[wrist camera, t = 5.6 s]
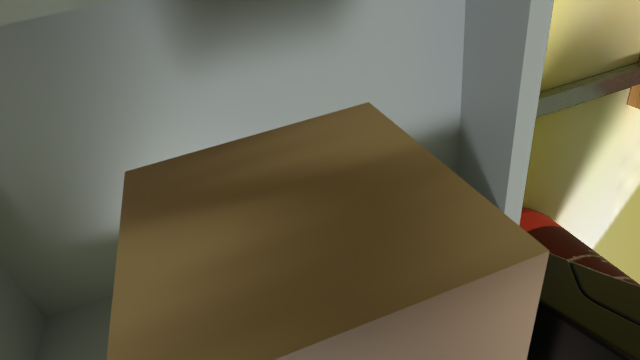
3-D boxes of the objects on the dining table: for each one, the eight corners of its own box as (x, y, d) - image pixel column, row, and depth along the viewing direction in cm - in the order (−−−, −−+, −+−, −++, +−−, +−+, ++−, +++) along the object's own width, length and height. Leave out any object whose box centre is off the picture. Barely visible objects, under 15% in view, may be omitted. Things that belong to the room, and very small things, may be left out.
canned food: (444, 314, 30) (571, 485, 21) (444, 228, 25) (606, 398, 16) (537, 275, 31) (693, 419, 22) (553, 187, 26) (757, 323, 18)
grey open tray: (46, 292, 18) (12, 417, 13) (-173, -3, 11) (-385, 48, 7) (441, 163, 21) (518, 228, 17) (447, -117, 15) (574, -133, 10)
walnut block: (203, 336, 11) (236, 587, 7) (124, 171, 8) (100, 429, 4) (383, 269, 12) (506, 452, 8) (368, 101, 9) (549, 251, 5)
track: (16, 303, 18) (-9, 376, 16) (-251, -22, 11) (-392, -1, 8) (653, 95, 25) (719, 118, 22) (744, -193, 18) (859, -214, 15)
